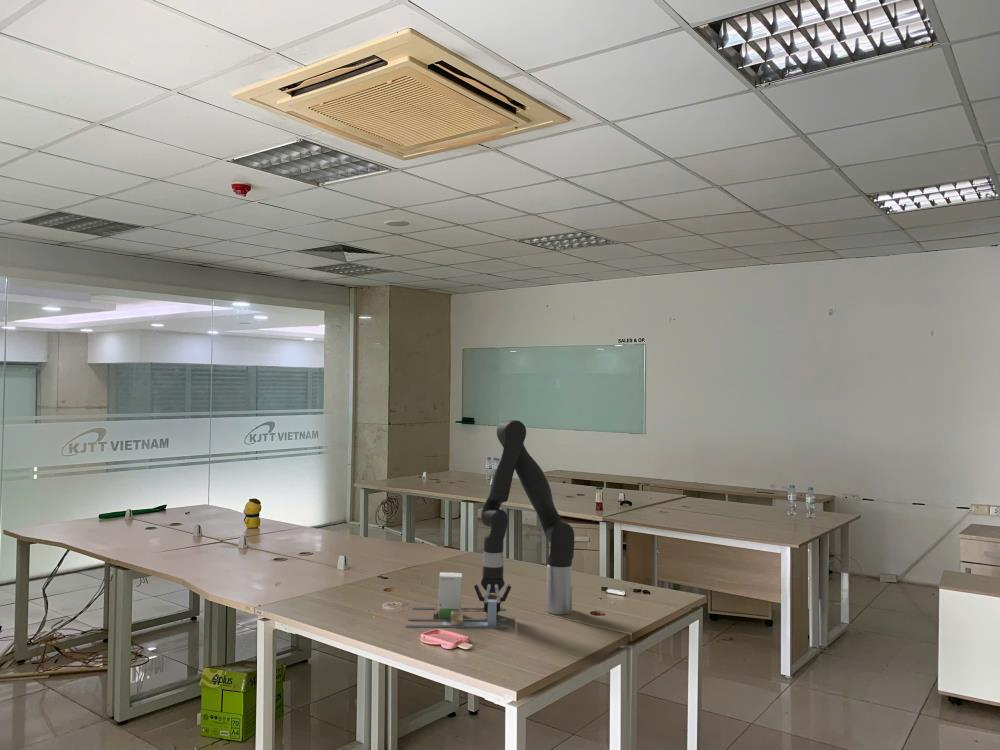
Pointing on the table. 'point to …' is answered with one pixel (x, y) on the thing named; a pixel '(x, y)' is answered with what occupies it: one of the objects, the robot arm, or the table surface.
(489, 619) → the pale blue bent piece
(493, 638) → the table surface
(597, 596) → the table surface
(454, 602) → the skincare box
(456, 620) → the beech cube
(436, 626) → the guide rails
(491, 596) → the walnut frame
